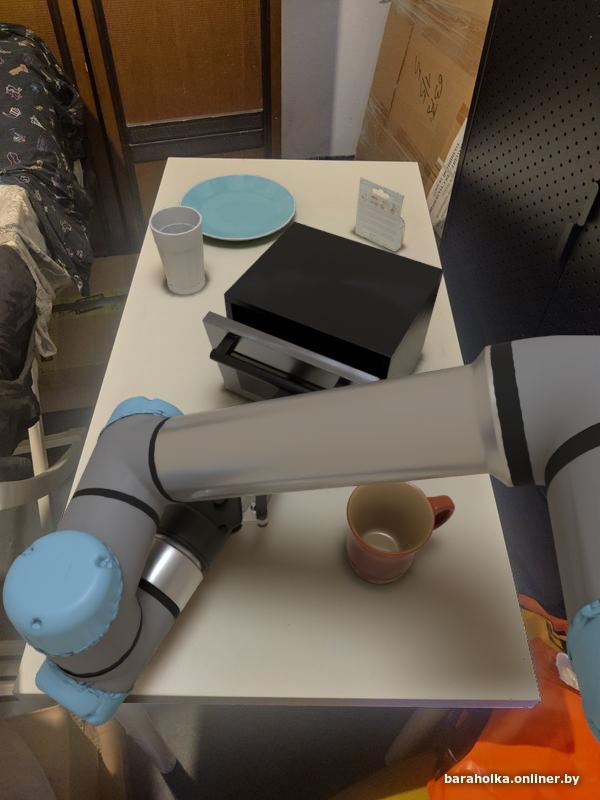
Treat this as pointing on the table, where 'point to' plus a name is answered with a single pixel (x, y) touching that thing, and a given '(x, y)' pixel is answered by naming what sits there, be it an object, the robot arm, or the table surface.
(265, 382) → the door
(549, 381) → the robot arm
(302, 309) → the box
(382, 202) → the ink box
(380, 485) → the mug
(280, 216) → the plate
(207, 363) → the table surface
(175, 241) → the cup
